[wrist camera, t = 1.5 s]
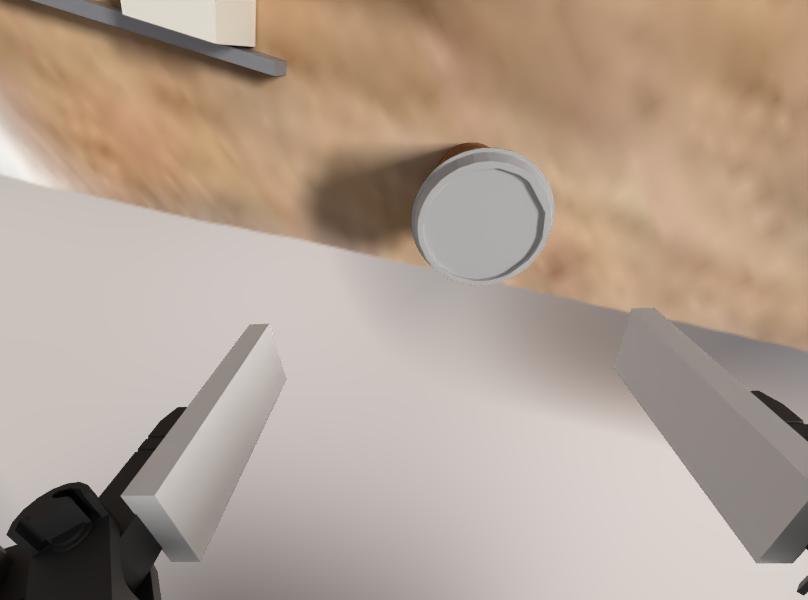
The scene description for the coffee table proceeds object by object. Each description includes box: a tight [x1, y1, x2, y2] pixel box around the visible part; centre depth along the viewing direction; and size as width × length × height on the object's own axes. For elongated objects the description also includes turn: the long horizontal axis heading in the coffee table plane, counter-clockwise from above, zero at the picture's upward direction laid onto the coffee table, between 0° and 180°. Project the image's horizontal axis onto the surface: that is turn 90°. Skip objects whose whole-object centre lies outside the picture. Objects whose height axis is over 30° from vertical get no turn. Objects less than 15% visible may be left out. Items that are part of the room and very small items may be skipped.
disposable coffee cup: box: [411, 143, 554, 285], centre depth 28 cm, size 10×10×12 cm
